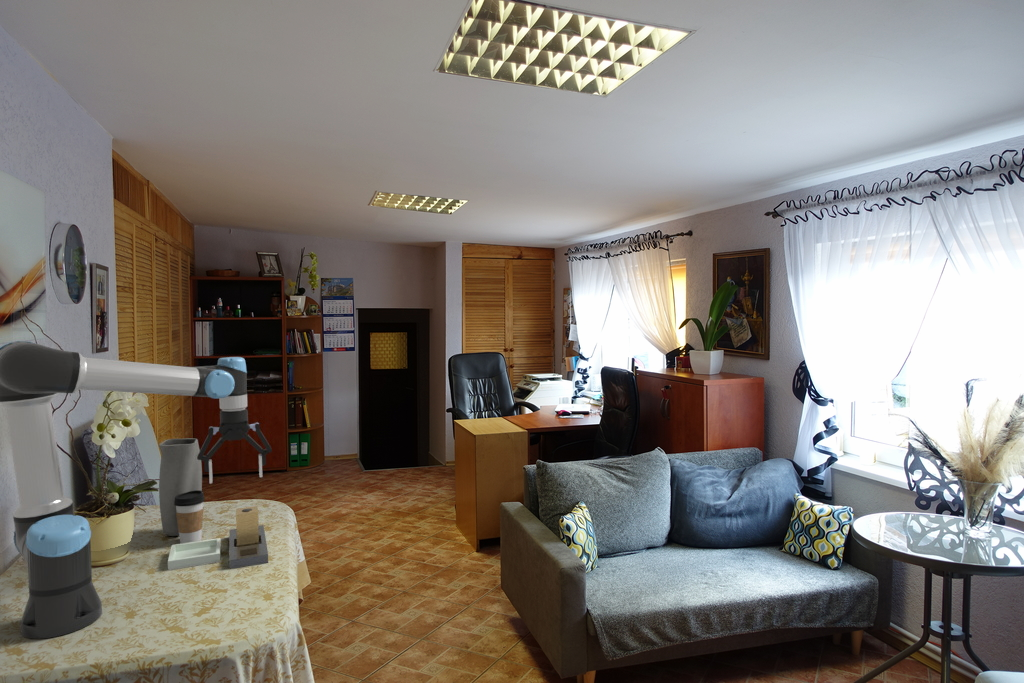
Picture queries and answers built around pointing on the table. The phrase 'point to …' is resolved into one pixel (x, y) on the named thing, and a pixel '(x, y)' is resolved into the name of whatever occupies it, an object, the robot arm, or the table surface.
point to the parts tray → (194, 553)
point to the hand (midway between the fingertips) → (236, 479)
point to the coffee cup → (190, 515)
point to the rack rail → (247, 551)
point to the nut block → (247, 526)
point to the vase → (177, 477)
